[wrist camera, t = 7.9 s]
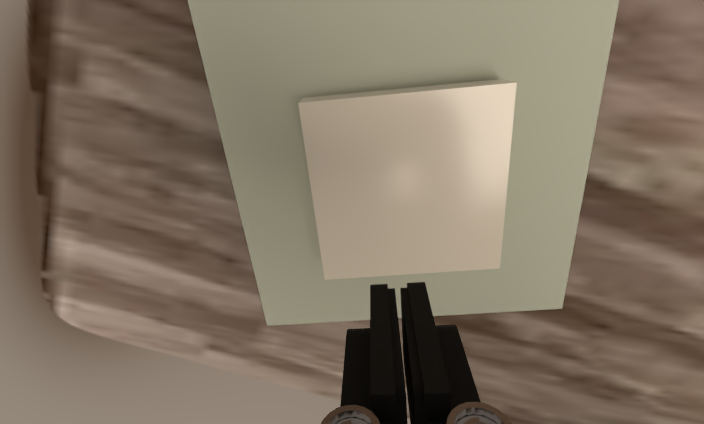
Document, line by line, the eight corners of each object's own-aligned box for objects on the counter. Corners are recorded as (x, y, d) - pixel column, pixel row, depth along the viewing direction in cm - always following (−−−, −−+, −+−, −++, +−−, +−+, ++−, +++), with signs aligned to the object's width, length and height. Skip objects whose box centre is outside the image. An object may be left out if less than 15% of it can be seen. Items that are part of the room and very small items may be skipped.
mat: (620, -51, 17) (629, -54, 16) (557, 302, 25) (562, 308, 24) (191, -3, 18) (186, -4, 17) (269, 319, 26) (267, 325, 26)
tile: (516, 82, 17) (298, 103, 17) (500, 268, 21) (324, 279, 21) (500, 78, 18) (304, 96, 19) (488, 249, 23) (327, 260, 23)
